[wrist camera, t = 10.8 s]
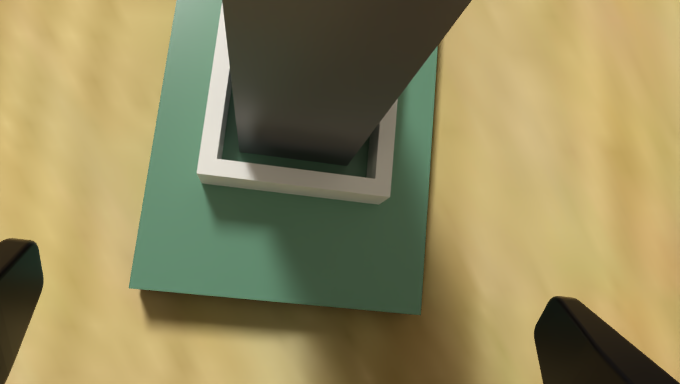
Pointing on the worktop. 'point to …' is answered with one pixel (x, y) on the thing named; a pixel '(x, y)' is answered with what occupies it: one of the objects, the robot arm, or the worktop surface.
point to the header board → (278, 195)
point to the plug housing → (325, 69)
